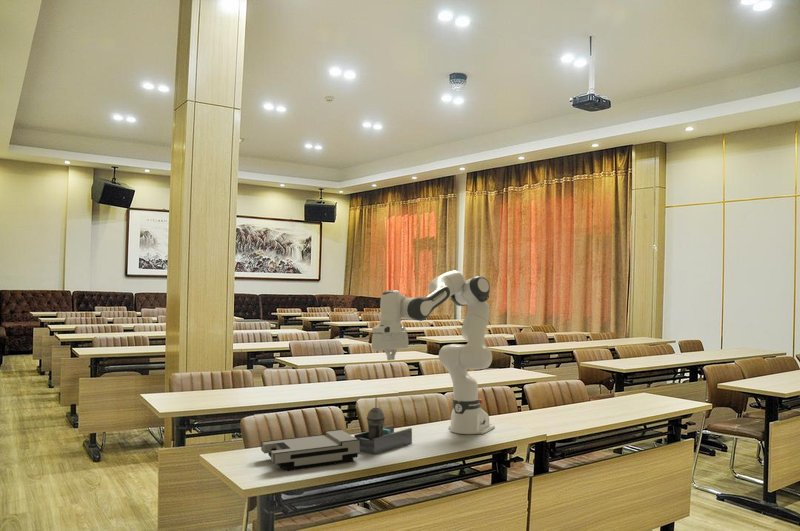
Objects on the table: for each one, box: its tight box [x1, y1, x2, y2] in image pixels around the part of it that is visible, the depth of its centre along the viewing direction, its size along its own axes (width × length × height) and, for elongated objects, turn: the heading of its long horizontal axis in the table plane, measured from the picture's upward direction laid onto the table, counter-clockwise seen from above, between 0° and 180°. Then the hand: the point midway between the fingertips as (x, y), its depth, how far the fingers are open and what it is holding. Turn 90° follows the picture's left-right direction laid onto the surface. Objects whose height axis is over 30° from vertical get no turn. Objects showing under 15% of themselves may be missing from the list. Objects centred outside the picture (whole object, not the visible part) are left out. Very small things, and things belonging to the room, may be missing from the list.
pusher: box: [382, 429, 391, 436], centre depth 245 cm, size 2×8×6 cm, turn 49°
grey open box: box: [353, 424, 413, 455], centre depth 246 cm, size 23×11×6 cm, turn 139°
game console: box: [260, 428, 361, 472], centre depth 226 cm, size 21×32×8 cm, turn 115°
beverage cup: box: [366, 397, 386, 440], centre depth 241 cm, size 7×7×20 cm
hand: (390, 360), depth 257 cm, fingers closed
